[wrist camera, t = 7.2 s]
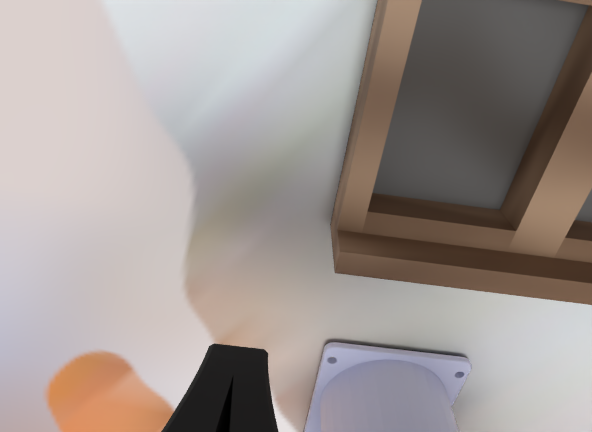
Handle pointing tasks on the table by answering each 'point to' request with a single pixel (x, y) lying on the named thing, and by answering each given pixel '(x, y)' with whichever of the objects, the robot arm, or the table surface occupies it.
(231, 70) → the table surface
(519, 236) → the wooden frame
